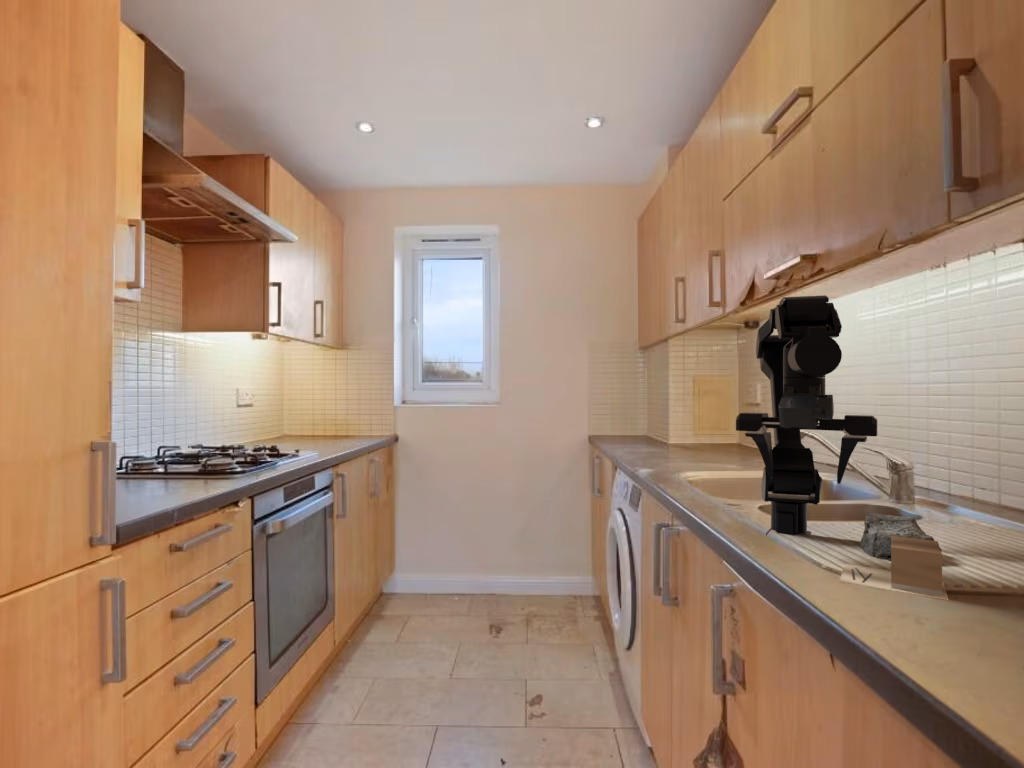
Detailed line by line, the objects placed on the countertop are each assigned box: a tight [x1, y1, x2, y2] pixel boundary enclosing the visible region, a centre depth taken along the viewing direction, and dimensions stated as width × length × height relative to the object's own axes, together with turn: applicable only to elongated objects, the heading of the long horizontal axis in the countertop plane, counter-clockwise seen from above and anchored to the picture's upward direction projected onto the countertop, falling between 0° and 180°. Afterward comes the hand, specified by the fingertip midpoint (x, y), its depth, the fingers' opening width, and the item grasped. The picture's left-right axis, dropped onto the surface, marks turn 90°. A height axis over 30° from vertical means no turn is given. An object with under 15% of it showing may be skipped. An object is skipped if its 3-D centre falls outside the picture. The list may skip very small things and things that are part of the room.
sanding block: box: [890, 536, 943, 596], centre depth 71 cm, size 7×5×5 cm
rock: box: [859, 512, 942, 562], centre depth 85 cm, size 13×9×6 cm, turn 173°
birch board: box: [839, 563, 949, 601], centre depth 72 cm, size 9×11×1 cm
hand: (804, 480), depth 85 cm, fingers open, 9 cm apart
